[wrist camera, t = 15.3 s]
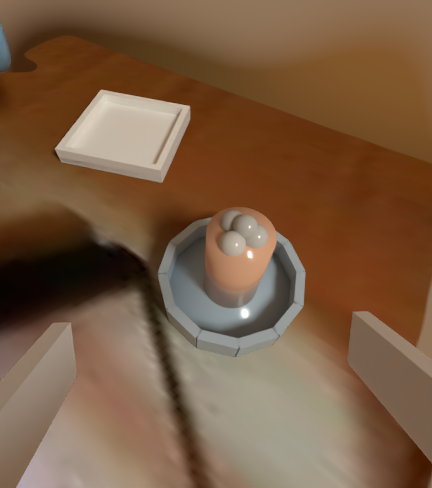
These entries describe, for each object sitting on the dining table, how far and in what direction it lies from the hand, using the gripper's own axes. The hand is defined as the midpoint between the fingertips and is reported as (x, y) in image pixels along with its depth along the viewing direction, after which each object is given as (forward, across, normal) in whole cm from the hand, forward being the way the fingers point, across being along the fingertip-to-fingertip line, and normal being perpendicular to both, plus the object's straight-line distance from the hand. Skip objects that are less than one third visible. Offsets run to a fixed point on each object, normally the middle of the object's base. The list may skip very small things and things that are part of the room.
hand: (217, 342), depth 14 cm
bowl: (+21, +4, -6) cm, 22 cm away
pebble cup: (+21, +4, -5) cm, 22 cm away
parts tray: (+41, -11, +13) cm, 44 cm away
